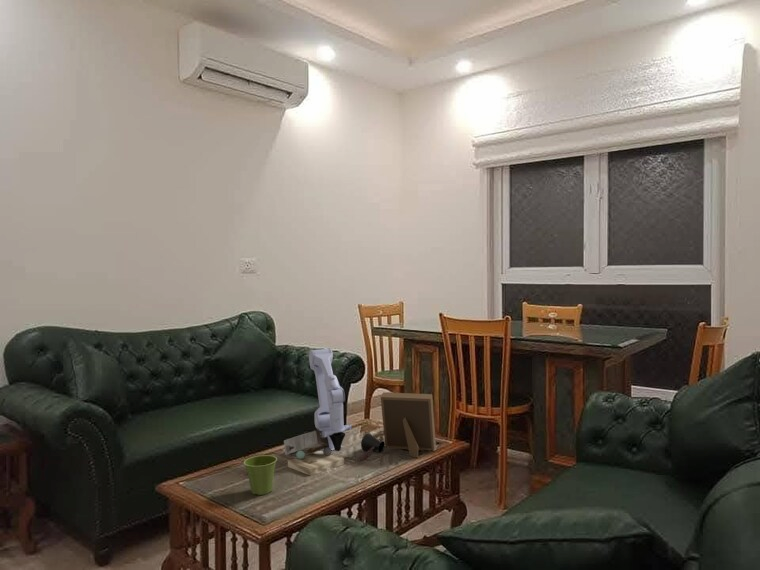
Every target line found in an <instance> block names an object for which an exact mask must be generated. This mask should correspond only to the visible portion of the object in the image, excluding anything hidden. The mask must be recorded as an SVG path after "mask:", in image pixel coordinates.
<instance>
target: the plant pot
mask: <svg viewBox="0 0 760 570" xmlns="http://www.w3.org/2000/svg"><path fill="white" fill-rule="evenodd" d="M277 461H278V458H277V456H274V455H272V454H271V455H270V454H262V455H257V456H256V455H255V456H252V457H249V458H246V459H245V460H244V461H243V465H244V467H245V470H246V473H247V476H248V482H249V486H250V491H251V493H252V494H253V495H258V496H263V495H268V494H270V492H272V491H273V485H274V476H275V475H274V474H275V468H276V463H277Z"/></svg>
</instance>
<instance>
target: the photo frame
mask: <svg viewBox="0 0 760 570" xmlns="http://www.w3.org/2000/svg"><path fill="white" fill-rule="evenodd" d="M380 405H381V416H382V425H383V437H384V443H385V447H384V449H395V450H408V453H409V457H412V456H414V457H413V458H415V457H418V458H419V451H424V450H434V449H435V450H436V447H437V445H436V444H437V443H436V442H437V441H436V440H437V439H436V429H435V428H436V427H435V417H434V416H435V414H434V400H433V394H432V393H412V392H411V393H407V392H384V391H383V392H382V394H381V396H380ZM435 450H434V451H435Z"/></svg>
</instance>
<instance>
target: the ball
mask: <svg viewBox="0 0 760 570" xmlns="http://www.w3.org/2000/svg"><path fill="white" fill-rule="evenodd" d="M323 453H324V455H326V456H328V455H330V454H332V451H331V449H330V448H329V447H326V448H324V450H323Z"/></svg>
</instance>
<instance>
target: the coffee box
mask: <svg viewBox="0 0 760 570" xmlns="http://www.w3.org/2000/svg"><path fill="white" fill-rule="evenodd" d="M322 432H323V431H319V429H315V430H312V431H311V430H310V431H309V432H305V433H303V434H298V435H297V436H293V437H291V438H287V439H285V440H283V446H284V453H285V455H284V456H287V457H288V456H289V457H292V458H296V457H297V456H296V454H297V452H298V451H303V452H304V453H305V455H308V454H311V453H314V452H318V451H321V450H322V449H324V448H326V447H329V443H328V437H322Z"/></svg>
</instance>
